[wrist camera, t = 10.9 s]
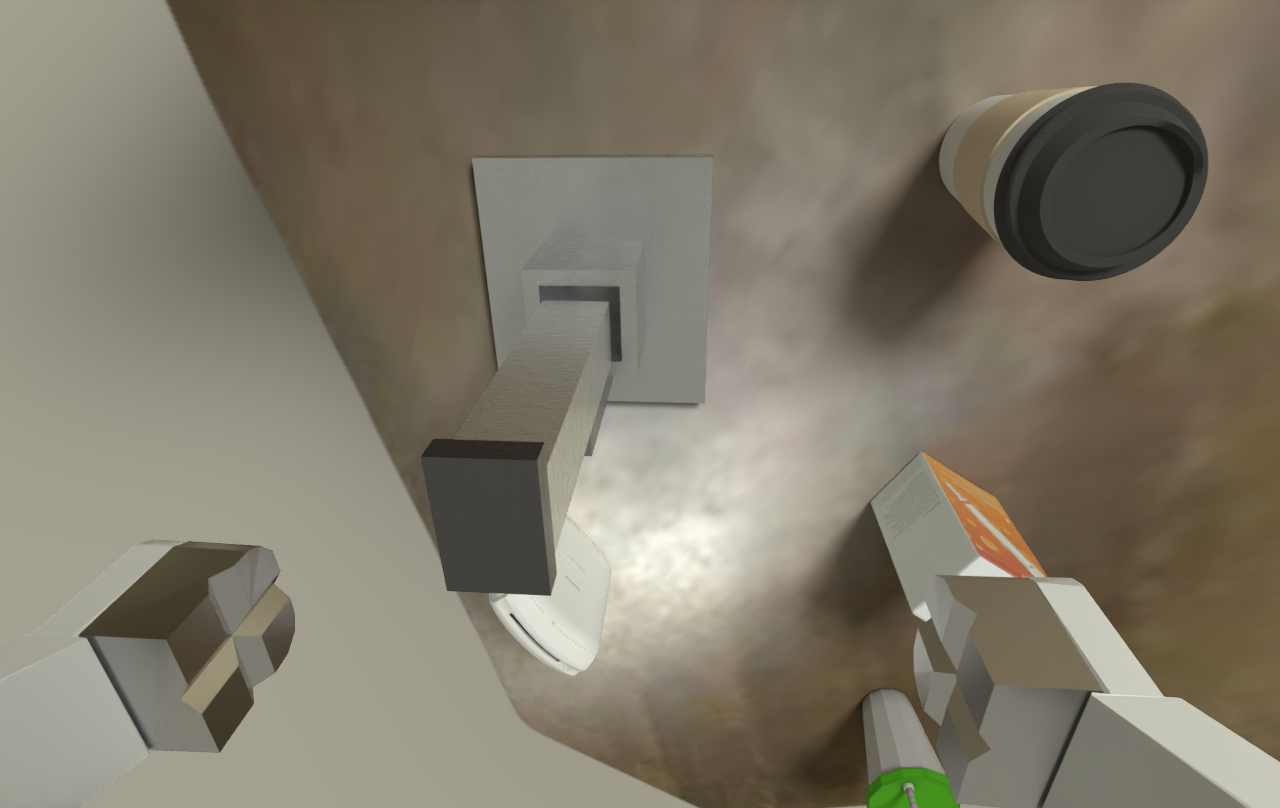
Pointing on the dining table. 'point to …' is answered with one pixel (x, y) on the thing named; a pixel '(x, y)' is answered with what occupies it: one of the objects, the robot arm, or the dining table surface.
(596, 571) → the photo printer
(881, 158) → the dining table surface
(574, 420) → the column
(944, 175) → the coffee cup
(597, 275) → the stand base
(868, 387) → the dining table surface
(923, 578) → the small box
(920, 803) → the cup
